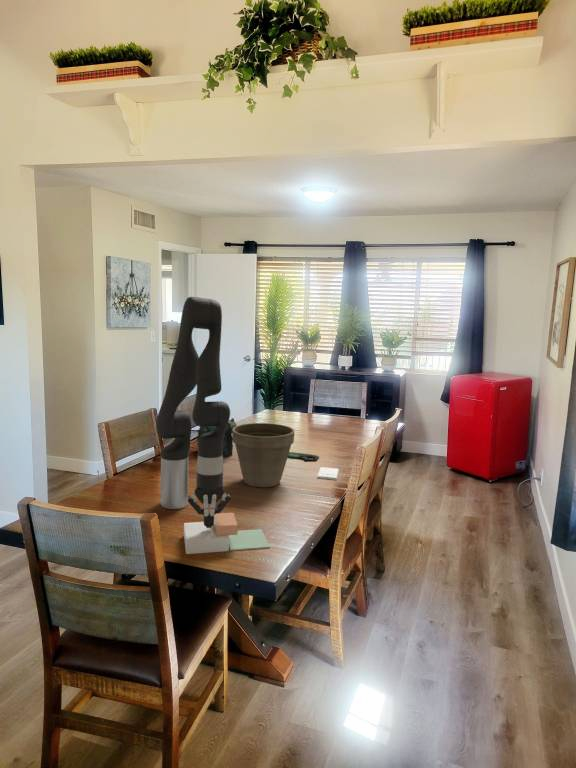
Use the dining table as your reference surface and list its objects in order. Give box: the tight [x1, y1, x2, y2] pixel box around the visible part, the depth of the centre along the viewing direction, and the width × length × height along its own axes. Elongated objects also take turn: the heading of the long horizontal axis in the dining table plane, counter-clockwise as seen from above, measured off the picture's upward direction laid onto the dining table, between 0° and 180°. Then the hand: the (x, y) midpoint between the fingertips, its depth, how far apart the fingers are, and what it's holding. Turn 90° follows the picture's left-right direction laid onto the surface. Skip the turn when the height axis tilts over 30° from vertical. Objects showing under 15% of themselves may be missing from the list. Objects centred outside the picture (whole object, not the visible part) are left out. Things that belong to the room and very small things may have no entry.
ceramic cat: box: [196, 417, 238, 458], centre depth 240 cm, size 20×6×20 cm, turn 62°
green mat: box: [228, 528, 270, 552], centre depth 154 cm, size 12×12×1 cm
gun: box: [287, 451, 320, 462], centre depth 241 cm, size 16×1×10 cm
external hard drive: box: [316, 466, 340, 481], centre depth 218 cm, size 2×8×12 cm
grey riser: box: [183, 521, 230, 555], centre depth 150 cm, size 12×12×4 cm
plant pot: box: [232, 422, 295, 488], centre depth 204 cm, size 25×25×22 cm
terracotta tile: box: [214, 512, 239, 536], centre depth 151 cm, size 9×6×3 cm, turn 14°
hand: (208, 526), depth 150 cm, fingers closed
